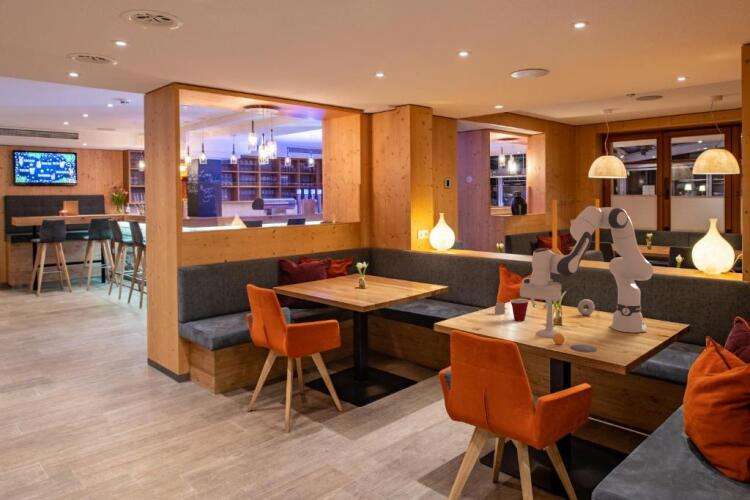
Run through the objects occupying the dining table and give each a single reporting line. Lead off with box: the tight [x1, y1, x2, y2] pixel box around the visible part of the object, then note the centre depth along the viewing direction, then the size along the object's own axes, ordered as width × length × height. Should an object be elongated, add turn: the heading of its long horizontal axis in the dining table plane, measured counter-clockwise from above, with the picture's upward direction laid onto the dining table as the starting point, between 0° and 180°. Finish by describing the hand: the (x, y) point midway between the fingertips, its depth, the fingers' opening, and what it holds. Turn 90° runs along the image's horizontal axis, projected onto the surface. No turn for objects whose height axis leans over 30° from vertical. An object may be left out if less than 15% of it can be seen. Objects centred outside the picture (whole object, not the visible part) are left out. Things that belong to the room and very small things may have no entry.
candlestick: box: [535, 278, 562, 339], centre depth 292 cm, size 13×13×30 cm
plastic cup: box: [509, 298, 530, 322], centre depth 324 cm, size 11×11×12 cm
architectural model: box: [494, 301, 507, 315], centre depth 342 cm, size 3×7×7 cm, turn 91°
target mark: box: [569, 344, 598, 353], centre depth 268 cm, size 12×12×1 cm
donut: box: [577, 298, 596, 316], centre depth 336 cm, size 10×4×10 cm, turn 87°
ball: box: [552, 332, 565, 345], centre depth 275 cm, size 6×6×6 cm
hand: (539, 307), depth 279 cm, fingers open, 4 cm apart
